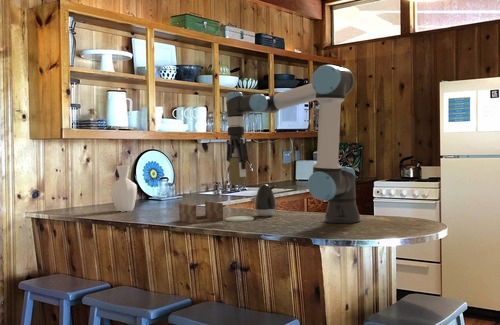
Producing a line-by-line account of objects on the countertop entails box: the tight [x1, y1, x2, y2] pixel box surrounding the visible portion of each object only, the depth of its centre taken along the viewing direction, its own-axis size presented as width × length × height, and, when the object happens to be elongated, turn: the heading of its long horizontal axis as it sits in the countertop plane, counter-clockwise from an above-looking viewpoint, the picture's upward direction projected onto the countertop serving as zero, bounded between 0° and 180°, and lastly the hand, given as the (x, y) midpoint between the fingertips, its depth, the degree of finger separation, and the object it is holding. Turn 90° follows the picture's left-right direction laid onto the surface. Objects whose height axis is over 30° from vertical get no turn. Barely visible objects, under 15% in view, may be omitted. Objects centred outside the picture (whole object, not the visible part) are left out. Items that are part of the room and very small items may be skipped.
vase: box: [110, 165, 138, 213], centre depth 306 cm, size 14×14×25 cm
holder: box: [178, 200, 224, 225], centre depth 255 cm, size 15×15×8 cm
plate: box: [225, 215, 255, 223], centre depth 253 cm, size 13×13×1 cm
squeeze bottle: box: [228, 147, 247, 186], centre depth 252 cm, size 8×8×18 cm
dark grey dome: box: [254, 183, 277, 217], centre depth 265 cm, size 10×10×15 cm
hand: (237, 176), depth 252 cm, fingers closed on squeeze bottle, 8 cm apart
